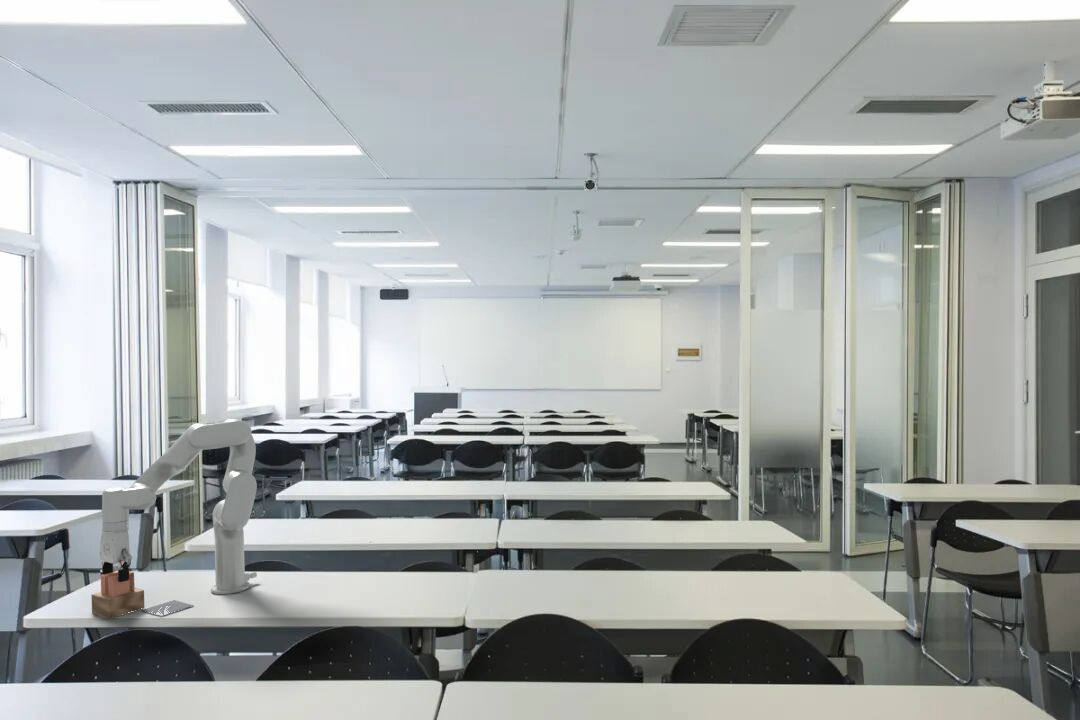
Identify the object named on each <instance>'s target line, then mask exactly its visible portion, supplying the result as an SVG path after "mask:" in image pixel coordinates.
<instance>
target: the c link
mask: <svg viewBox="0 0 1080 720" xmlns="http://www.w3.org/2000/svg"><path fill="white" fill-rule="evenodd" d="M135 588H136V587H135V572H133V571H130V570H129V580H128V581H124V582H118V571H116V572H112V573H108V574H104V575H101V574H100V592H101V594H104V595H106V594H109V596H111V597H115V596H118V595H122V594H125V593H129V592H132V591H135Z"/></svg>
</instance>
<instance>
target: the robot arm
mask: <svg viewBox="0 0 1080 720" xmlns="http://www.w3.org/2000/svg"><path fill="white" fill-rule="evenodd" d="M228 447H229V457H228V462H227V466H226V470H225V474H224V477H223V480H222V488H223V491H224V492H225V493H226V494H225V498H224V499H223V500H220V501H219V502H218V503H216V505H215V507H214V508H213V511H212V524H213V532H214V533H213V535H214V536H213V537H214V564H215V565H214V566H215V567H214V569H215V574H214V575H215V585H212V586H211V588H210V592H211V593H212V594H215V595H231V594H236V593H241V592H244V591H246V590H248V589H249V588H250V586H251V584H250V582H249V580H250V579H254V578H257V575H258V574H257V572H256V571H252V572H251V573H249V572H246V571H245V570H246V569H245V534H244V532H245V531H244V527H246V525H247V524H248V522H249V520H250V519H251V518H250V517H251V514H252V510H253V506H254V502H255V499H256V495H257V489H258V488H257V487H258V486H257V479H256V477H255V476H254V475H253V469H254V465H255V461H256V460H255V459H256V454H257V453H256V451H257V450H256V449H257V448H256V447H257V446H256V442H255V438H254V437H253V435H252V428H251V426H250V424H249V423H248V422H247V421H244V420H241V419H238V418H229V419H226V420H224V421H223V422H220V423H219V422H218V423H210V424H208V423H207V424H205V423H194V424H191V425H190V426H189V427H187V429H186V430H185V431H184V432H183V433H182V434H181V435H180V436H179V437H178V438H177V439H176V440H175V441H174V443H173V444H172V445H170V447H169V448H168V449H167V450H166V451H165V452H164V453H163V454H162V455H161V456H160V457H158V458H157V460H156V461H154V462H153V463H152V464H151V465H150V466H149V467H148V468H146V469H145V471H144V472H142V474H140V476H139V477H138V478H137V479H136V480H135V481H134V482H133V483H132V485H130V487H129V488H126V487H123V486H121V487H110V488H106V489H105V490H103V491H102V495H101V496H102V498H101V499H102V500H101V502H102V505H101V506H102V507H101V512H102V513H101V516H102V517H101V518H102V519H101V520H102V521H101V523H102V524H101V531H102V532H101V535H100V543H99V545H100V547H99V559H100V561H101V566H102V567H101V570H102V575H104V574H108V573H112V572H113V566H114V565H115V564H117V566H119V568H120V570H118V582H124V581H128V580H129V571H130V568H131V564H132V558H133V556H132V555H131V553H130V551H131V549H130V538H129V537H130V535H129V528H130V521H129V520H130V514H129V513H130V510H147V509H149V508H151V507H152V506H153V505H154V504H155V502H156V500H157V493H156V492H157V491H158V490H159V489H160V488H161V487H162V486H163V485H164V484H165V483H166V482H167V481H169V480H170V479H171V478H173V477H175V476H178V475H180V473H182V472H183V471H185V470H186V469H187V467H189V465H190V464H191V463H192V462H193V461H194V460H195V459H196V458H197V456H198V455H199V454H201V452H202V451H205V450H214V449H223V448H228Z"/></svg>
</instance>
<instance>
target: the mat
mask: <svg viewBox="0 0 1080 720" xmlns="http://www.w3.org/2000/svg"><path fill="white" fill-rule="evenodd" d="M166 606H168V607H169V606H170V607H169V608H168V607H167V608H168V609H167V608H166ZM191 606H193V607H194V604H190V603H186V602H182V601H179V600H174V599H173V600H170V601H167V602H163V603H159V604H158V605H154V606H150V607H148V608H144V609H141V612H143V611H146V612H150V613H151V612H152V611H153V612H152V613H153V614H154V613H155V614H156V613H157V612H159V611H160V612H161V613H162V614H163V615H164V610H165V608H166V609H167V610H168V611H169V612H170V613H171V612H174V611H178V610H181V609H184V610H186V609H185V608H187V609H189V608H188V607H191ZM161 607H162V608H161ZM160 608H161V609H160ZM191 608H192V607H191ZM159 609H160V610H159ZM158 610H159V611H158ZM167 610H166V611H167ZM168 611H167V612H168ZM181 611H182V610H181ZM146 612H145V613H146ZM160 612H159V613H160ZM169 612H168V613H169ZM178 612H179V611H178ZM161 613H160V614H161ZM153 614H152V615H153Z"/></svg>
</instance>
